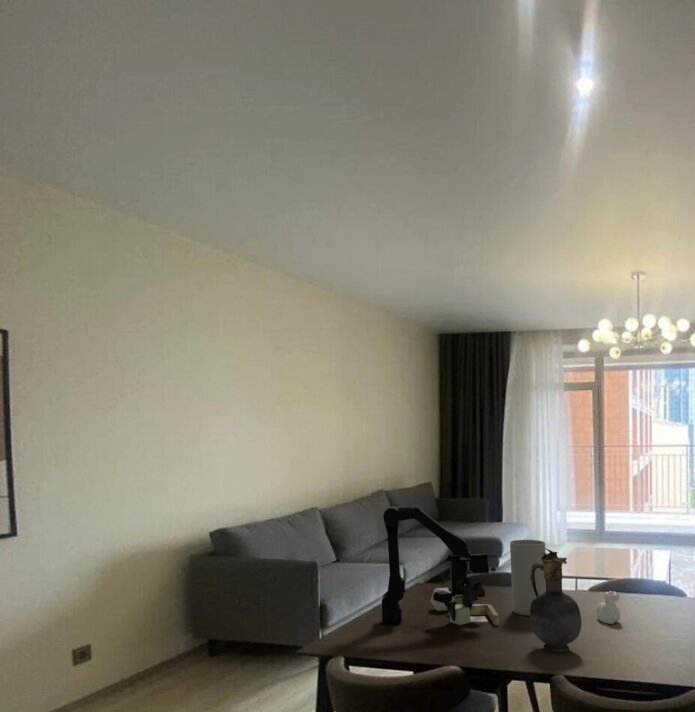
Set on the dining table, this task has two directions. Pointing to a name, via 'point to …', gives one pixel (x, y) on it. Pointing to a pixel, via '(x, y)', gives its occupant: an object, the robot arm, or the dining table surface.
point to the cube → (461, 615)
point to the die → (439, 605)
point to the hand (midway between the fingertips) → (460, 619)
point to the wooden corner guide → (484, 613)
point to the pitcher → (554, 607)
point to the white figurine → (609, 608)
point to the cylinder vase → (525, 573)
